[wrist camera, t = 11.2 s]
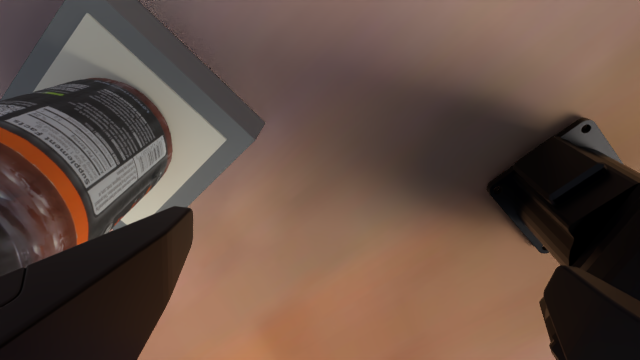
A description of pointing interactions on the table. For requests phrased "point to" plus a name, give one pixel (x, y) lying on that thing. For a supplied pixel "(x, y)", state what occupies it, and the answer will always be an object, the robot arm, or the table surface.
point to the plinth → (147, 90)
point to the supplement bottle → (74, 165)
